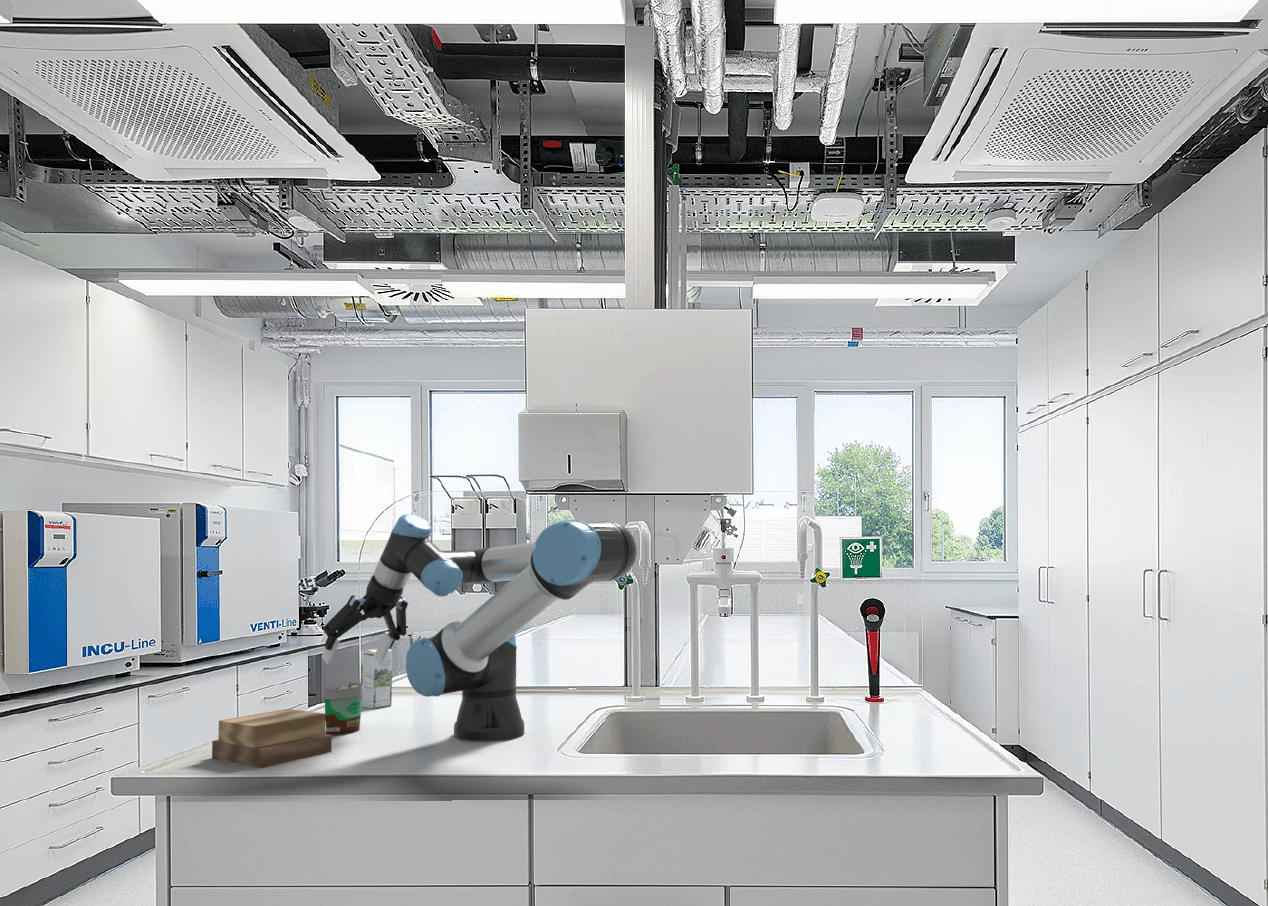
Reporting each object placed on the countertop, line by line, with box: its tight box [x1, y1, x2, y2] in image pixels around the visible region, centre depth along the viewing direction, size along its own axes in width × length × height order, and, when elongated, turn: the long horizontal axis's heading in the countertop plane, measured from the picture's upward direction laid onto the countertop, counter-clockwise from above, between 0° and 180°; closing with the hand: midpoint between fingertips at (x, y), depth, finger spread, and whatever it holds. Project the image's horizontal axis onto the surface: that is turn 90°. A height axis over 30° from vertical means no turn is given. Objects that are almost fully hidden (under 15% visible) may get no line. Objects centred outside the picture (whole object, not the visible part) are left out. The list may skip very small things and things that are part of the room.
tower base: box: [211, 733, 333, 769], centre depth 195 cm, size 16×16×4 cm
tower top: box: [217, 708, 326, 748], centre depth 195 cm, size 12×16×4 cm
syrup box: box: [360, 648, 394, 710], centre depth 250 cm, size 6×6×14 cm
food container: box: [322, 681, 365, 736], centre depth 218 cm, size 12×6×10 cm, turn 168°
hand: (352, 660), depth 218 cm, fingers open, 13 cm apart
